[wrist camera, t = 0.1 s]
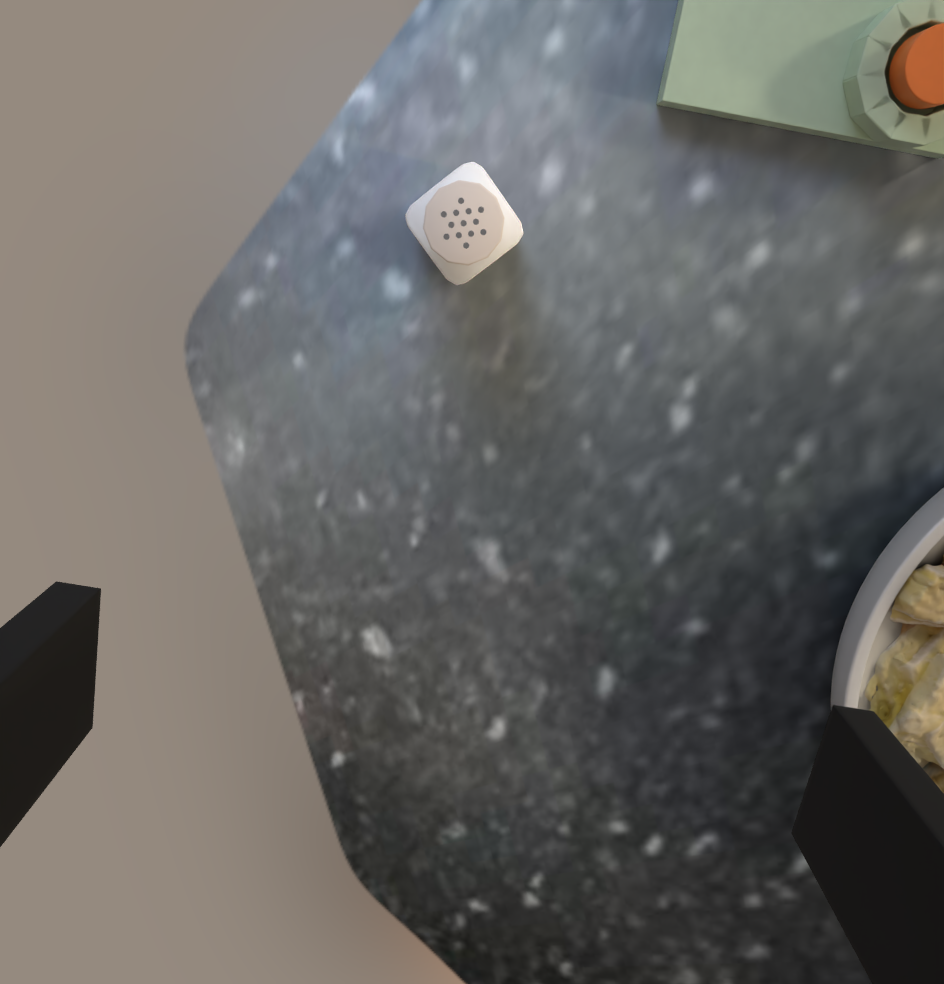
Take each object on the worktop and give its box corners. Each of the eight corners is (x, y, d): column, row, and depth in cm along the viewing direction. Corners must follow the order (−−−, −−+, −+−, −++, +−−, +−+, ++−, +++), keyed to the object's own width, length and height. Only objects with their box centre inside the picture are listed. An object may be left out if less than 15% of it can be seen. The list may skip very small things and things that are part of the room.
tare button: (901, 24, 38) (918, 16, 37) (971, 38, 39) (991, 30, 37) (879, 102, 39) (895, 97, 38) (947, 115, 40) (966, 110, 38)
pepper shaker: (473, 165, 43) (474, 146, 33) (522, 234, 43) (535, 234, 34) (408, 217, 43) (391, 212, 34) (457, 284, 44) (453, 296, 35)
